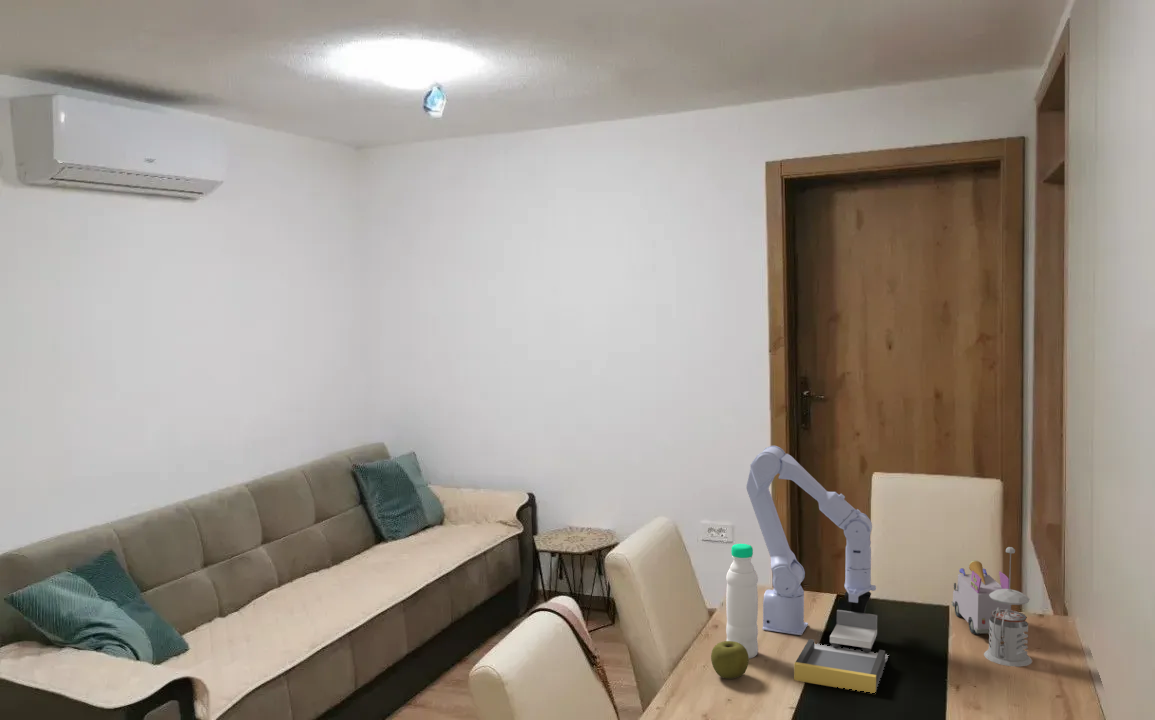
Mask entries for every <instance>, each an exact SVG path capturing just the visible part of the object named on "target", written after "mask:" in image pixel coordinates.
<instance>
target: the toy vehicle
mask: <svg viewBox="0 0 1155 720" xmlns="http://www.w3.org/2000/svg"><path fill="white" fill-rule="evenodd" d="M983 567H984V566H983V563H982V561H981V562H980V561H979V560H972V561H970V562H969V564H968V568H969V570H970V572H971V574H966V572H965V569H964V568H959V570H958V571H959V574H957V583H956V582H953V591H952V601H951V606H952V607H953V608H954V613H955V616H956V617H958V618H963V619H964V620H965V621H966V622H967V623H968V628H969V629H968V630H969V631H970V633H971V634H973V635H981V634H989V632H990V630H991V632H992V629H990V630H989V626H990V624H989V620H990V617H993V616H992V614H991V613H992V611H994V610H997V608H998V607H999V608H1000V609H1002V610H1003V609H1005V610H1006V609H1007V610H1009V605H1008V604H1002V603H999V602H996V601H994V600H992V599H991V598H990V596H989V594H990V593H992V592H994V591H996V590H1000V589H1009V577H1008V576H1007V575H1006V574H1005V573H1003V572H1002V571H998V573H999V574H998V575H999V581H1000V583H999V582H997V581H996V579H994V578H993V577H992V576H991V575H990V574H988V573H987V572H988V571H987V569H985V568H983ZM1010 610H1011V611H1012V605H1010ZM999 626H1001V628H1002V625H999ZM1004 627H1005V625H1003V628H1004ZM1004 632H1005V631H1003V633H1004ZM1001 633H1002V631H1001Z"/></svg>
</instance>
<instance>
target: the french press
mask: <svg viewBox="0 0 1155 720" xmlns="http://www.w3.org/2000/svg"><path fill="white" fill-rule="evenodd" d="M1015 552H1016V549H1015V548H1014V547H1012V546H1008V547H1006V549H1005V553H1006V554H1007V553H1008V554H1009V577H1008V578H1009V589H1000V590H996V591H994V592H992V593H990V594H989V596H990V598H991V599H992V600H994V601H996V602H999V603H1002V604H1008V605H1009V610H1007V609H1006V610H1005V609H1003V610H1002V609H1000V608H999V607H998V608H997V610H994V611H992V613H991V614H992V616H993V617H990V620H989V624H990V626H989V630H990V629H992V632H991V630H990V632H989V633H988V636H989V637H988V649H987V650H986V651H984V653H983V656H984V657H985V659H987V660H988V661H990V662H992V663H995V664H998V665H1001V666H1008V667H1018V668H1019V667H1027V666H1029V665H1031V664H1032V663H1033V659H1032V658H1031V657H1030V656H1029V655H1028V651H1027V650H1028V645H1026V644H1028V641H1029V640H1028V638H1029V634H1028V633H1029V623H1028V622H1027V615H1026V614H1024V613H1023V612H1019V611H1016V610H1012V609H1011V610H1010V605H1011V606H1013V605H1014V606H1019V605H1025V604H1027V603H1029V602H1030V598H1029V597H1028V596H1027V595H1026V594H1025V593H1023V592H1020V591H1019V590H1015V589H1011V570H1012V569H1011V564H1012V554H1015ZM999 625H1002V628H1001V626H999ZM1003 625H1005V627H1004V628H1003ZM1001 631H1002V633H1001ZM1003 631H1005V632H1004V633H1003ZM1002 642H1003V643H1002ZM1025 649H1026V650H1025Z"/></svg>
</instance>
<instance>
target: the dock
mask: <svg viewBox="0 0 1155 720" xmlns="http://www.w3.org/2000/svg"><path fill="white" fill-rule="evenodd" d="M820 644H821V645H820ZM827 645H828V644H824V645H822V643H817V644H815V639H812V638H809V639H808V640H807V642H806V644H805V645H804V647H803V649H802V650H801V652H800V654H799V655H798V657H797V659H796V661H794V664H793V667H794V669H793V670H794V671H793V674H794V675H793V678H794V679H793V681H797V682H803V683H808V684H813V685H819V686H820V685H821V686H826V687H833V688H837V687H838V688H839V689H843V688H845V689H844V690H849V689H852V690H851V691H855V690H857V691H856V692H860V691H864V692H863V693H866V692H870V693H869V694H872V693H875V692H876V693H877V690H878V688H877V687H879V685H878V684H880V682H881V679H880V678H882V676H883V673H884V671H885V668H886V663H887V661H888V658H889V657H888V656H890V654H889V655H887V654H888V653H886V650H883V649H879V650H878V652H876V653H874V652H875V651H870V652H868V653H866V652H864V651H861V650H862V649H856V650H854V649H855V648H850V647H843V648H841V647H842V646H839V647H838V648H834V647H833V646H832V645H830V646H827ZM849 648H850V649H849ZM884 667H885V668H884ZM883 670H884V671H883ZM879 681H880V682H879ZM876 693H875V694H876Z"/></svg>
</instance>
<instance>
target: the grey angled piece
mask: <svg viewBox="0 0 1155 720" xmlns="http://www.w3.org/2000/svg"><path fill="white" fill-rule="evenodd" d="M877 636H878V614H872V613H866V612H865V613H859V612H851V611H850V610H843V609H837V610H836V624H835V626H834V628H833V630H832V632H831V634H830V635H829V643H830V644H831V645H830V646H833V647H834V648H838V647H841V645H844V646H852V647H858V648H861V650H863V651H864V652H866V653H868V652H872V651H871V650H872V648H873V645H874V643H875V641H876V639H877V638H876V637H877Z"/></svg>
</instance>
